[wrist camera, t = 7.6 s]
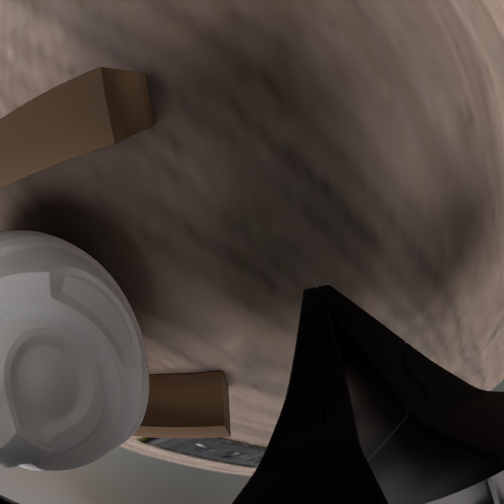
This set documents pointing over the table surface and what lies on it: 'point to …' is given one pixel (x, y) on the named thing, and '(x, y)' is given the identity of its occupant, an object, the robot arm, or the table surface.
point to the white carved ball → (65, 356)
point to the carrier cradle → (84, 141)
